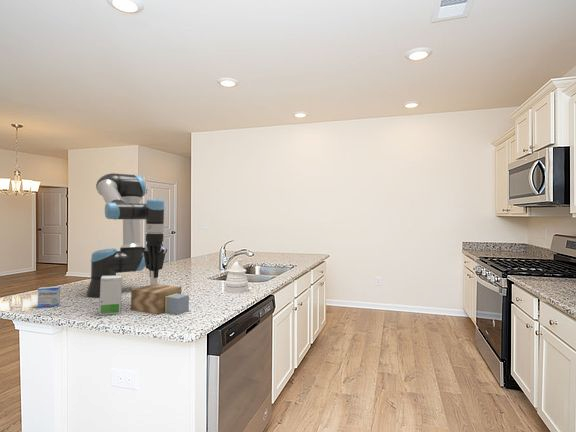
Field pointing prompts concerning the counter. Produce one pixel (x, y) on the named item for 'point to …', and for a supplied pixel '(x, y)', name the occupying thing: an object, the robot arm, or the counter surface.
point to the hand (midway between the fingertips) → (153, 284)
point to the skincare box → (110, 295)
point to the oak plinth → (152, 297)
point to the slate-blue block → (176, 303)
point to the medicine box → (48, 296)
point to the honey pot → (236, 279)
